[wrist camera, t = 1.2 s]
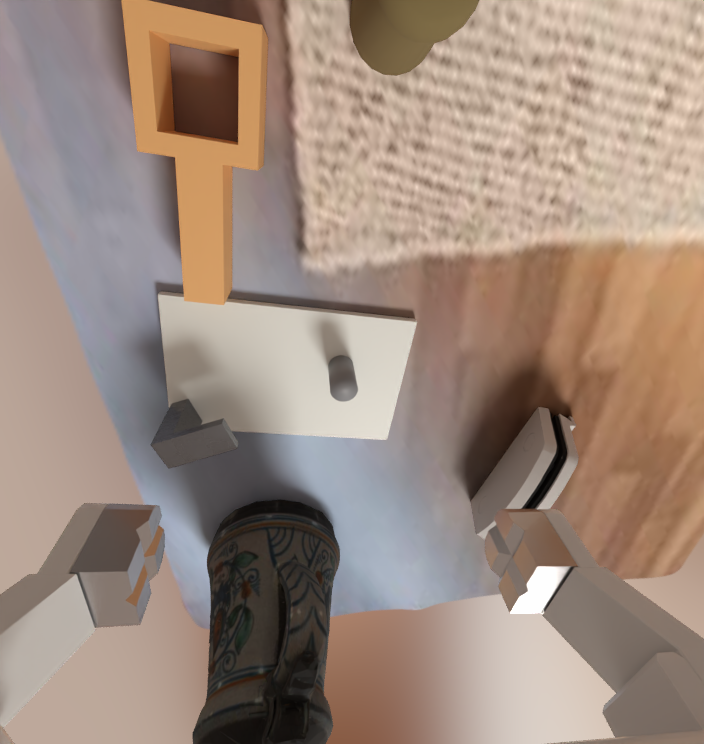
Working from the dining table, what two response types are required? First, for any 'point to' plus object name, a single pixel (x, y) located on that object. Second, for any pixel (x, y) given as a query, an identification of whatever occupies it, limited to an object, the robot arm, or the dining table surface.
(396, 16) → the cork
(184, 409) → the bracket
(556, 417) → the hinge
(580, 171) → the dining table surface
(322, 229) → the dining table surface
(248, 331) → the board
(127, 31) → the link
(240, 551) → the beer stein
